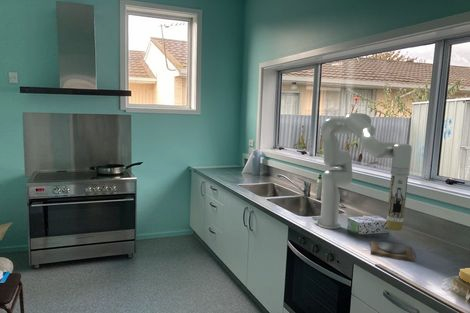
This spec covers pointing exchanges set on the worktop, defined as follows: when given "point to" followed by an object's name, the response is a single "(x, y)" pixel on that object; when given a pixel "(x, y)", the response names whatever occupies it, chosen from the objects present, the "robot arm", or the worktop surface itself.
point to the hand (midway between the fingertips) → (396, 210)
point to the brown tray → (392, 251)
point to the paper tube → (393, 217)
